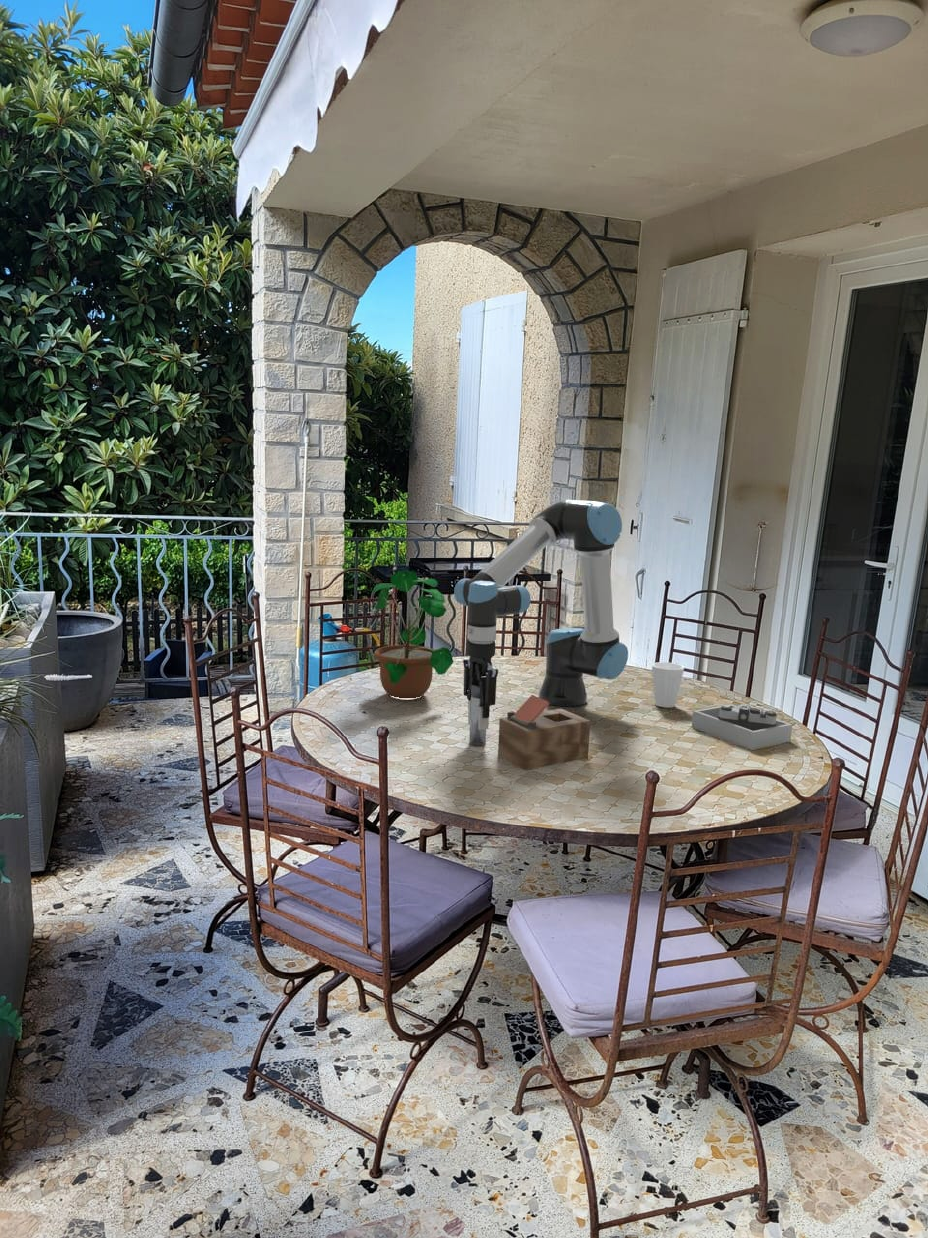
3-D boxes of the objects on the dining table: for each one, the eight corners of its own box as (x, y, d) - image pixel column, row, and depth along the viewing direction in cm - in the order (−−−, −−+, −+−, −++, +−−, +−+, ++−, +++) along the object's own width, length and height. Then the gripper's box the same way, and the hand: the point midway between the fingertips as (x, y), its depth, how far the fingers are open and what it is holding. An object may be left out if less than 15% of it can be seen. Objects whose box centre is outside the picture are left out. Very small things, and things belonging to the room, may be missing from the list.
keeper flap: (533, 696, 226) (531, 694, 225) (550, 703, 220) (548, 701, 219) (511, 720, 223) (509, 717, 223) (528, 728, 217) (526, 725, 217)
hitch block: (559, 744, 237) (561, 702, 234) (587, 758, 227) (590, 714, 225) (497, 755, 226) (499, 712, 224) (525, 770, 216) (527, 725, 214)
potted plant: (426, 715, 258) (430, 582, 251) (349, 698, 273) (351, 572, 266) (480, 693, 284) (485, 572, 277) (407, 678, 299) (410, 563, 291)
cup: (646, 707, 275) (649, 667, 272) (651, 699, 284) (654, 660, 281) (678, 712, 271) (682, 671, 269) (683, 704, 280) (686, 664, 278)
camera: (773, 736, 252) (777, 703, 250) (774, 747, 243) (777, 712, 241) (717, 729, 257) (720, 696, 255) (715, 739, 248) (718, 705, 246)
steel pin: (479, 739, 238) (482, 682, 234) (488, 744, 234) (491, 686, 231) (466, 741, 235) (468, 684, 232) (474, 746, 232) (477, 688, 228)
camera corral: (729, 720, 265) (730, 704, 264) (790, 741, 246) (792, 724, 245) (691, 727, 256) (693, 710, 255) (752, 750, 238) (753, 732, 237)
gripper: (451, 635, 234) (449, 719, 239) (487, 649, 220) (484, 738, 224) (475, 633, 238) (472, 715, 243) (512, 646, 224) (508, 733, 228)
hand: (478, 726), depth 234 cm, fingers closed on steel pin, 4 cm apart
